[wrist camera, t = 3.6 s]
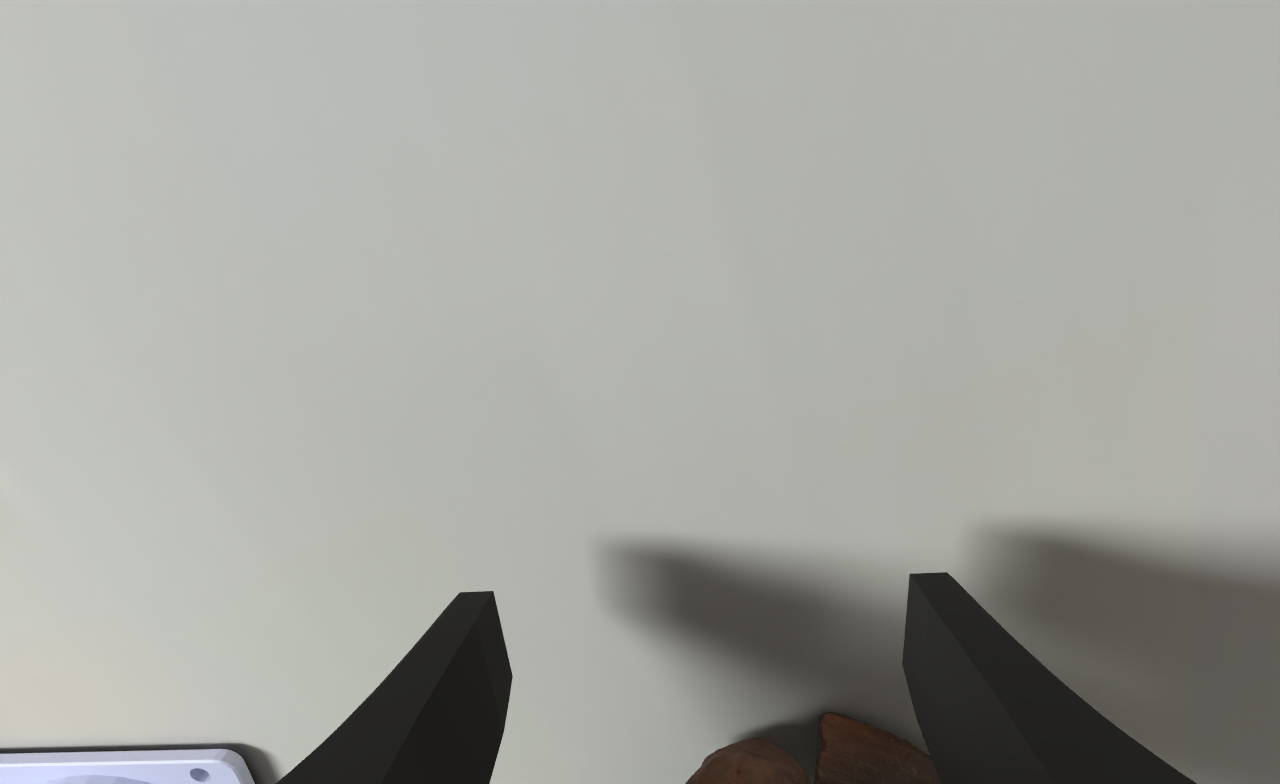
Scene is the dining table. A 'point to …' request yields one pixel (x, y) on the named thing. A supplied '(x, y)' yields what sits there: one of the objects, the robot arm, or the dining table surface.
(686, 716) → the dining table surface
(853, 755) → the brown piece
